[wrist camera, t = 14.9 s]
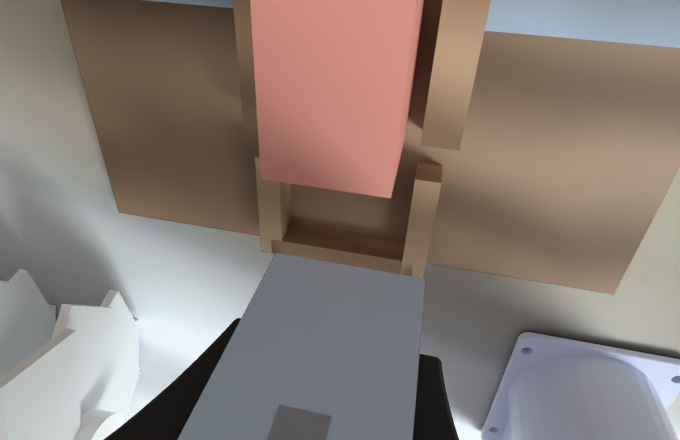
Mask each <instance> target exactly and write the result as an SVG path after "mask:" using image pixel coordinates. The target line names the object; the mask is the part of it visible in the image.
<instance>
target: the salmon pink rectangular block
mask: <svg viewBox="0 0 680 440" xmlns="http://www.w3.org/2000/svg"><path fill="white" fill-rule="evenodd" d="M424 1H425V0H250V6H251V23H252V40H253V57H254V74H255V91H256V107H257V124H258V141H259V158H260V175H261V179H263V180H270V181H277V182H284V183H290V184H297V185H304V186H311V187H317V188H324V189H331V190H338V191H344V192H351V193H358V194H365V195H371V196H378V197H385V198H391V195H392V191H393V187H394V182H395V178H396V174H397V169H398V165H399V161H400V156H401V152H402V148H403V143H404V139H405V135H406V130H407V125H408V118H409V111H410V103H411V96H412V89H413V82H414V74H415V67H416V60H417V52H418V45H419V38H420V31H421V23H422V16H423V9H424Z"/></svg>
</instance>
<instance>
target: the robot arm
mask: <svg viewBox="0 0 680 440" xmlns="http://www.w3.org/2000/svg"><path fill="white" fill-rule="evenodd" d="M240 320H241V319H240V318H237V319H236V320H234V321H233V322H232V323H231V324H230V326H229V327H228V328H227V329H226V330H225V331H224V332H223V333H222V334H221V335H220V336H219V337H218V338H217V339H216V340H215V341H214V342H213V343H212V344H211V346H210V347H209V348H208V349H207V350H206V351H205V352H204V353H203V354H202V355H201V356H200V357H199V358H198V359H197V360H196V361H194V362H193V363H192V364H191V365H190V366H189V367H188V368H187V369H186V370H185V371H184V372H183V373H182V374H181V375H180V376H179V377H178V378H177V379H176V380H175V381H173V382H172V383H171V384H170V385H169V386H168V387H167V388H166V389H165V390H163V391H162V392H161V393H160V394H159V395H158V396H157V397H155V398H154V399H153V400H152V401H151V402H150V403H149V404H147V405H146V406H145V407H144V408H143V409H142V410H140V411H139V412H138V413H137V414H135V415H134V416H133V417H132V418H131V419H129V420H128V421H127V422H126V423H124V424H123V425H122V426H121V427H119V428H118V429H117V430H115V431H114V432H113V433H111V434H110V435H109V436H107V437H106V438H105V439H103V440H178V438H179V436H180V434H181V432H182V430H183V428H184V426H185V424H186V423H187V421H188V419H189V417H190V415H191V413H192V411H193V409H194V407H195V405H196V404H197V402H198V400H199V398H200V396H201V394H202V392H203V390H204V388H205V386H206V385H207V383H208V381H209V379H210V377H211V375H212V373H213V371H214V369H215V367H216V366H217V364H218V362H219V360H220V358H221V356H222V354H223V352H224V350H225V349H226V347H227V345H228V343H229V341H230V339H231V337H232V335H233V333H234V331H235V330H236V328H237V326H238V324H239V322H240ZM524 348H528V349H524ZM679 393H680V359H675V358H670V357H664V356H659V355H653V354H647V353H642V352H636V351H631V350H625V349H620V348H614V347H609V346H603V345H598V344H592V343H587V342H581V341H576V340H570V339H565V338H559V337H554V336H548V335H543V334H537V333H532V332H525V333H522V334H521V335H519V337H518V339H517V342H516V344H515V347H514V349H513V352H512V354H511V357H510V360H509V362H508V365H507V367H506V370H505V373H504V375H503V378H502V380H501V383H500V385H499V388H498V391H497V393H496V396H495V398H494V401H493V403H492V406H491V409H490V411H489V414H488V416H487V419H486V422H485V424H484V427H483V429H482V432H481V438H482V440H678V438H677V436H676V433H675V431H674V428H673V426H672V424H671V421H670V419H669V417H668V414H667V412H666V410H667V409H668V407H669V406H670V405H671V404H672V402H673V401H674V400H675V398H676V397H677V396H678V394H679ZM413 440H459V439H458V435H457V432H456V429H455V425H454V422H453V418H452V414H451V411H450V406H449V402H448V398H447V394H446V389H445V384H444V379H443V372H442V364H441V361H440V359H439V358H438V357H433V356H428V355H423V354H419V366H418V379H417V391H416V404H415V416H414V429H413Z"/></svg>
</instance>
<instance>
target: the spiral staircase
mask: <svg viewBox="0 0 680 440" xmlns="http://www.w3.org/2000/svg"><path fill="white" fill-rule="evenodd" d="M139 374H140V369H139V320H138V319H134V318H133V316H132V314H131V313H130V311H129V309H128V307H127V305H126V304H125V302H124V300H123V298H122V296H121V295H120V293H119V291H118V290H112V289H110V290H109V292H108V293H107V295H106V297H105V298H104V300H103V301H102V303H101V305H100V306H89V305H74V304H62V305H61V309H60V312H59V315H58V318H57V322H56V305H50V304H48V303H47V301H46V300H45V298H44V297H43V295H42V293H41V292H40V290H39V289H38V287H37V285H36V284H35V282H34V280H33V279H32V277H31V276H30V274H29V272H28V271H27V270H23V269H19V270H18V271H17V272H16V273H15V274H14V275H13V277H12V278H11V279H10V280H9V281H8V282H4V281H0V440H103V439H105V438H106V437H107V436H109V435H110V434H111V433H113V432H114V431H115V430H117V429H118V428H119V427H121V426H122V425H123V424H124V423H126V422H127V421H128V417H129V413H130V409H131V405H132V401H133V397H134V394H135V390H136V386H137V382H138V378H139Z"/></svg>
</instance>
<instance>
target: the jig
mask: <svg viewBox="0 0 680 440" xmlns="http://www.w3.org/2000/svg"><path fill="white" fill-rule="evenodd" d="M61 4H62V8H63V11H64V15H65V19H66V22H67V26H68V29H69V33H70V37H71V40H72V44H73V48H74V51H75V55H76V59H77V62H78V66H79V69H80V73H81V77H82V80H83V84H84V88H85V91H86V95H87V99H88V102H89V106H90V110H91V113H92V117H93V120H94V124H95V128H96V131H97V135H98V139H99V142H100V146H101V150H102V153H103V157H104V160H105V164H106V168H107V171H108V175H109V179H110V182H111V186H112V190H113V193H114V197H115V200H116V204H117V208H118V211H119V213H125V214H131V215H137V216H143V217H149V218H155V219H161V220H167V221H173V222H179V223H185V224H191V225H197V226H203V227H210V228H216V229H222V230H228V231H234V232H240V233H246V234H252V235H258V236H260V240H261V251H262V252H268V253H273V254H276V253H279V254H285V255H291V256H297V257H303V258H308V259H314V260H320V261H326V262H331V263H337V264H343V265H349V266H354V267H360V268H366V269H372V270H377V271H383V272H389V273H395V274H401V275H406V276H412V277H418V278H423V276H424V271H425V266H426V263H427V264H433V265H439V266H445V267H451V268H457V269H463V270H469V271H475V272H481V273H488V274H494V275H500V276H506V277H512V278H518V279H524V280H530V281H536V282H542V283H548V284H554V285H560V286H566V287H572V288H578V289H584V290H590V291H596V292H602V293H608V294H614V293H615V291H616V289H617V287H618V285H619V283H620V281H621V279H622V277H623V275H624V274H625V272H626V270H627V268H628V266H629V264H630V262H631V260H632V258H633V256H634V254H635V252H636V251H637V249H638V247H639V245H640V243H641V241H642V239H643V237H644V235H645V233H646V231H647V229H648V227H649V226H650V224H651V222H652V220H653V218H654V216H655V214H656V212H657V210H658V208H659V206H660V204H661V202H662V201H663V199H664V197H665V195H666V193H667V191H668V189H669V187H670V185H671V183H672V181H673V179H674V177H675V176H676V174H677V172H678V170H679V168H680V0H425V1H424V9H423V16H422V23H421V31H420V38H419V45H418V52H417V60H416V67H415V74H414V82H413V89H412V96H411V103H410V111H409V118H408V125H407V130H406V135H405V139H404V143H403V148H402V152H401V156H400V161H399V165H398V169H397V174H396V178H395V182H394V187H393V191H392V195H391V198H385V197H378V196H371V195H365V194H358V193H351V192H344V191H338V190H331V189H324V188H317V187H311V186H304V185H297V184H290V183H284V182H277V181H270V180H263V179H261V175H260V158H259V141H258V124H257V107H256V91H255V74H254V57H253V40H252V23H251V6H250V0H61Z"/></svg>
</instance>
